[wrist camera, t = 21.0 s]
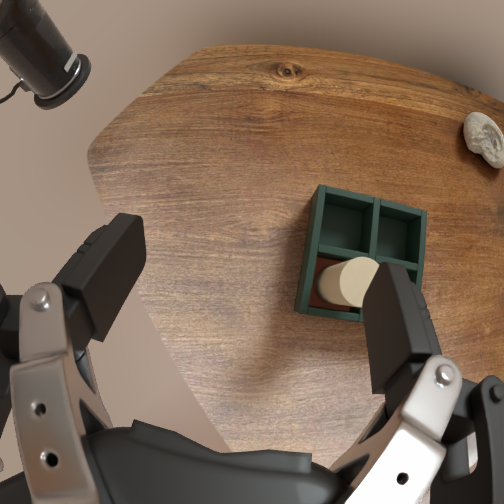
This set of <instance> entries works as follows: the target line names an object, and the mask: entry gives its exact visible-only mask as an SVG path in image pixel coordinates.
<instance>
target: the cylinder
mask: <svg viewBox="0 0 504 504" xmlns="http://www.w3.org/2000/svg"><path fill="white" fill-rule="evenodd" d="M378 267H379V264H378V263H377V262H375V261H374V260H372V259H370V258H367V257H357V258H354V259H351V260H348V261H345V262H342V263H339V264H336V265H333V266H330V267H327V268H325V269H323V270H321V271H320V272H319V273H318V275H317V276H316V279H315V282H314V288H315V292H316V294H317V296H318V297H319V298H320V299H321V300H322V301H324V302H327V303H333V304H340V305H346V306H353V307H361V308H362V303H363V298H364V295H365V293H366V291H367V289H368V287H369V285H370V283H371V281H372V279H373V277H374V275H375V273H376V271H377V269H378Z"/></svg>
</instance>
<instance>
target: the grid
mask: <svg viewBox="0 0 504 504" xmlns="http://www.w3.org/2000/svg"><path fill="white" fill-rule="evenodd" d="M426 223H427V211H424V210H420V209H417V208H414V207H410V206H406V205H403V204H399V203H395V202H392V201H388V200H384V199H380V198H376V197H372V196H368V195H364V194H360V193H356V192H351V191H347V190H343V189H338V188H334V187H329V186H325V185H320V184H319V186H318V187H317V189H316V191H315V192H314V194H313V196H312V201H311V208H310V215H309V222H308V229H307V235H306V242H305V248H304V255H303V261H302V267H301V273H300V279H299V284H298V290H297V296H296V301H295V307H294V311H296V312H298V313H301V314H308V315H314V316H321V317H327V318H334V319H341V320H348V321H355V322H363V323H364V320H363V314H362V308H361V307H353V306H346V305H340V304H333V303H327V302H324V301H322V300H321V299H320V298H319V297H318V296H317V294H316V292H315V288H314V282H315V279H316V276H317V275H318V273H319V272H320V271H321V270H323V269H325V268H327V267H330V266H333V265H336V264H339V263H342V262H345V261H348V260H351V259H354V258H357V257H367V258H370V259H372V260H374V261H375V262H377V263H378V264H379V265H380V264H381V263H382V262H383V261H385V262H390V263H395V264H400V265H404V266H405V268H406V270H407V273H408V276H409V278H410V281H411V282H414V283H415V284H416V286H417V287H418V288H419V290H420V291H421V285H422V277H423V267H424V256H425V243H426Z"/></svg>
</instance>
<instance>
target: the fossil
mask: <svg viewBox="0 0 504 504" xmlns="http://www.w3.org/2000/svg"><path fill="white" fill-rule="evenodd" d="M463 133H464V138H465V141H466V144H467V147H468V149H469V150H471V151H473V152H474V153H479V154H480V155H482V156H483V158H484V159H485V160H486V161H487V162H488V163H489V164H490V165H491V166H492V167H494V168H502V167H503V166H504V136H503V135H502V133H501V131H500V129H499V128H498V127H497V125H496V124H495V122H494V121H493V120H491V119H490V118H489V117H488V116H486V115H484V114H482V113H478V112H473V113H471V114H469V115H468V116H467V117H466V119H465V121H464V130H463Z"/></svg>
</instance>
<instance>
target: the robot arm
mask: <svg viewBox="0 0 504 504" xmlns="http://www.w3.org/2000/svg"><path fill="white" fill-rule="evenodd" d="M0 57H1V58H2V59H3V60H4V61H5V62H6V63H7V64H8V65H9V68H10V70H11V71H12V72H13V73H14V74H15V75H16V76H17V77H18V78H19V79H20V80H21V81H20V82H19V83H17V84H16V85H15V86H14V87H13V90H12V92H11V93H10V94H9V95H7V96H6V97H4V98H2V99H0V103H3V102H4V101H6V100H8V99H9V98H10V97H12V96H13V95H14V94H15V92H16V90H17V88H18V87H19V86H20V87H21V88H22V89H23V90H24V91H25V92H27V91H32V92H33V93H34V94H35V95H36V96H37V95H38V96H39V97H40V98H41V99H42V100H44V101H48V100H52V99H54V98H56V97H58V96H60V95H61V94H63V93H64V92H65V91H67V90H68V89H69V88H70V87H71V86H72V85H73V83H74V82H75V81H76V80H77V78H78V77H79V75H80V73H81V70H82V62H81V60H80V59H79V58H78V57H77V53H76V52H75V51H74V52H73V50H72V48H71V47H70V46H69V44H68V43H67V41H66V40H65V39H64V37H63V36H62V34H61V33H60V31H59V30H58V29H57V27H56V26H55V24H54V23H53V21H52V20H51V18H50V17H49V15H48V14H47V12H46V11H45V10H44V8H43V7H42V5H41V4H40V2H39V1H38V0H0ZM145 262H146V245H145V236H144V226H143V219H142V217H141V216H138V215H132V214H126V213H119V214H117V215H116V217H115V218H114V219H113V220H112V221H111V222H110V223H109V224H108V225H103V226H102V227H100V228H99V229H97V230H96V231H94V232H92V233H91V234H90V236H89V237H88V238H87V239H86V240H85V241H84V244H83V245H81V246H80V247H79V248H78V249H77V252H75V253H74V254H73V255H72V257H71V258H70V259H69V260H68V262H67V263H66V264H65V265H64V267H63V268H62V269H61V270H60V272H59V273H58V274H57V275H56V277H55V278H54V279H53V281H52V282H43V283H39V284H36V285H34V286H32V287H31V288H30V289H28V290H27V291H26V292H25V294H24V295H6V293H5V291H4V289H3V287H2V286H1V284H0V438H1V435H2V432H3V429H4V427H5V424H6V421H7V418H8V416H9V413H10V411H11V408H12V410H13V418H14V424H15V431H16V436H17V442H18V447H19V452H20V457H21V461H22V465H23V469H24V471H23V472H21V473H19V474H17V475H15V476H12V477H11V478H8V479H6V480H4V481H2V482H0V504H420V502H421V500H422V499H423V497H424V495H425V493H426V492H427V490H428V488H429V486H430V504H504V383H503V382H502V381H501V380H500V379H499V378H498V377H496V376H493V375H490V376H487V377H486V378H484V379H483V380H482V381H481V382H480V383H479V384H478V383H475V382H472V381H469V380H467V379H464V378H462V375H461V372H460V370H459V368H458V367H457V365H456V364H455V363H454V362H453V361H452V360H451V359H449V358H448V357H446V356H443V355H442V352H441V349H440V345H439V342H438V339H437V335H436V332H435V329H434V326H433V322H432V319H430V317H431V316H430V313H429V310H428V309H427V305H426V302H425V299H424V296H423V294H422V292H421V291H420V290H419V288H418V287H417V286H416V284H415V283H414V282H411V281H410V278H409V276H408V273H407V270H406V268H405V266H404V265H400V264H395V263H390V262H385V261H383V262H382V263H381V264H380V265H379V267H378V269H377V271H376V273H375V275H374V277H373V279H372V281H371V283H370V285H369V287H368V289H367V291H366V293H365V295H364V298H363V303H362V314H363V320H364V327H365V334H366V341H367V348H368V356H369V365H370V374H371V384H372V394H385V402H383V403H382V405H381V406H380V407H379V409H378V410H377V412H376V413H375V415H374V416H373V418H372V419H371V421H370V422H369V423H368V425H367V426H366V428H365V429H364V430H363V432H362V433H361V434H360V436H359V437H358V438H357V440H356V441H355V442H354V444H353V445H352V446H351V447H350V448H349V449H348V450H347V451H346V452H345V453H344V454H343V455H341V456H340V457H339V458H338V459H337V460H336V461H335V462H334V463H333V465H332V466H331V467H330V468H329V469H327V468H325V467H324V466H321V465H319V464H317V463H314V462H311V460H312V453H301V452H288V451H278V450H269V449H268V450H259V451H248V452H234V453H219V452H216V451H213V450H211V449H209V448H207V447H205V446H202V445H201V444H198V443H197V442H195V441H193V440H191V439H189V438H186V437H185V436H183V435H181V434H179V433H177V432H175V431H171V430H167V429H164V428H160V427H157V426H154V425H151V424H147V423H144V422H141V421H138V420H135V419H134V420H133V423H132V426H131V427H116V428H113V425H112V423H111V420H110V417H109V415H108V413H107V411H106V409H105V407H104V405H103V402H102V400H101V397H100V394H99V390H98V387H97V383H96V379H95V375H94V371H93V367H92V362H91V358H90V353H89V349H88V347H87V345H88V343H89V341H90V340H91V338H92V339H94V340H97V341H100V342H103V341H104V339H105V337H106V335H107V334H108V331H109V330H110V328H111V326H112V324H113V322H114V320H115V318H116V317H117V315H118V313H119V311H120V309H121V307H122V305H123V304H124V302H125V300H126V298H127V297H128V295H129V293H130V291H131V289H132V288H133V286H134V284H135V282H136V281H137V279H138V277H139V276H140V274H141V272H142V270H143V268H144V266H145ZM474 432H475V436H476V445H477V457H478V462H477V466H476V468H475V470H474V471H473V472H472V473H471V474H470V472H469V456H468V444H467V436H469V435H471V434H472V433H474ZM3 468H4V466H3V461H2V459H1V458H0V472H1V471H2V470H3Z"/></svg>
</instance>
